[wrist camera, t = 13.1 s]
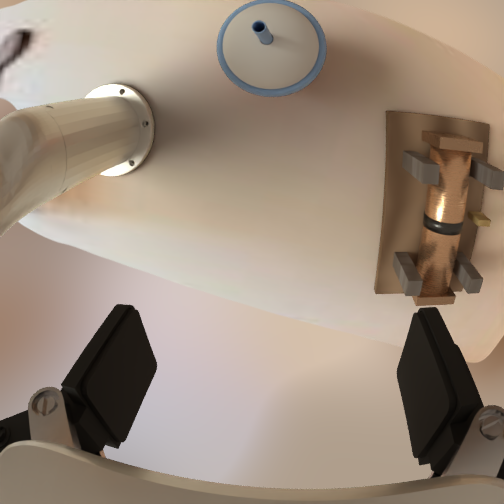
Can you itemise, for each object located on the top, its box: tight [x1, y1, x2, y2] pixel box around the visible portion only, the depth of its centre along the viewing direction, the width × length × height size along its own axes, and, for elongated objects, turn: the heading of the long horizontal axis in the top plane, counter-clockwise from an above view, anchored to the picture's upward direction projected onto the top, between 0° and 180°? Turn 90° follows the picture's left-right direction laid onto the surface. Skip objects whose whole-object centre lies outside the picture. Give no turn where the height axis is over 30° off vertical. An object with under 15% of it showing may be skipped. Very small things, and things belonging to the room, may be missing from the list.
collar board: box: [374, 111, 504, 296], centre depth 33 cm, size 14×24×8 cm, turn 4°
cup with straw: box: [217, 0, 327, 97], centre depth 23 cm, size 9×9×18 cm
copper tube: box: [412, 130, 483, 306], centre depth 33 cm, size 20×6×6 cm, turn 4°
